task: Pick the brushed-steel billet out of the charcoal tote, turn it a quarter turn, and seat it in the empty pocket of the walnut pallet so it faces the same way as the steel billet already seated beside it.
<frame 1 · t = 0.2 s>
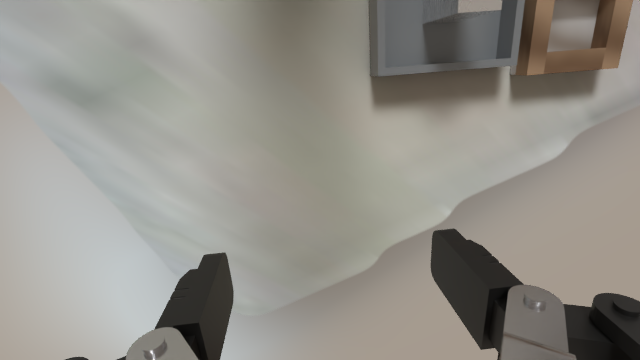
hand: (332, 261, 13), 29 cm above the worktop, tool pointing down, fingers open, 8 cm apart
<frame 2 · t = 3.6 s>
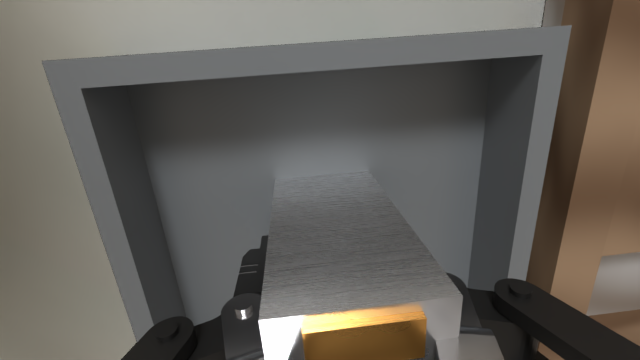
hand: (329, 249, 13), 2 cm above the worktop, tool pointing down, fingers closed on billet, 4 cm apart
pallet: (629, 155, 16), on the worktop
tote: (324, 224, 15), on the worktop
billet: (326, 232, 15), point 1 cm above the worktop, touching gripper, tote
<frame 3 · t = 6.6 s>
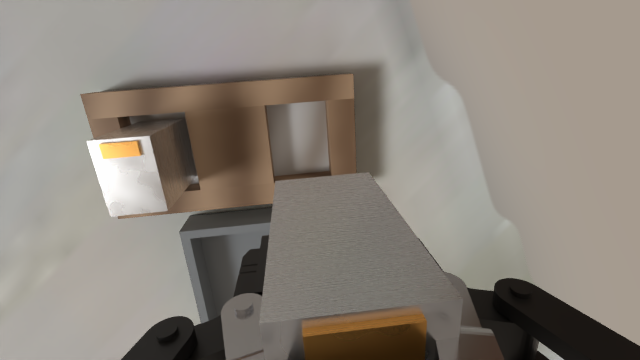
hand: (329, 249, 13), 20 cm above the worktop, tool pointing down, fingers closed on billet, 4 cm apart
pallet: (236, 141, 31), on the worktop
tote: (275, 271, 36), on the worktop
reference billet: (168, 149, 30), point 1 cm above the worktop, touching pallet
billet: (326, 233, 15), point 18 cm above the worktop, touching gripper
when the fingers open (4 cm above the worktop, at t = 9.5 s): billet drops 1 cm, resting on pallet.
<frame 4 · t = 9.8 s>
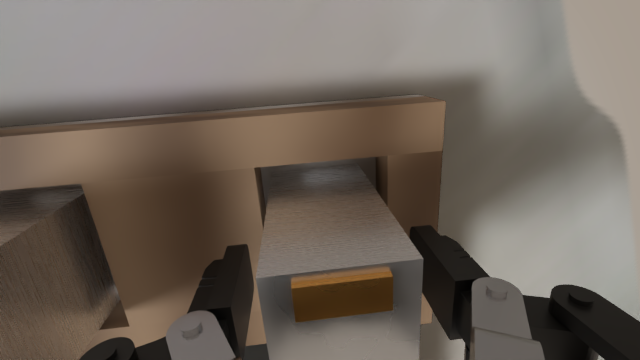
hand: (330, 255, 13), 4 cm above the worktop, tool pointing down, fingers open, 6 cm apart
pallet: (204, 220, 17), on the worktop
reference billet: (70, 243, 15), point 1 cm above the worktop, touching pallet
billet: (319, 219, 16), point 1 cm above the worktop, touching pallet
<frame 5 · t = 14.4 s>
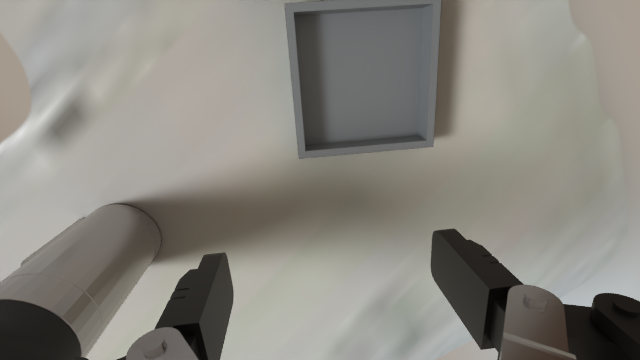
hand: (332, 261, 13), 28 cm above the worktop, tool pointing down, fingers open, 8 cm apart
tote: (359, 80, 38), on the worktop
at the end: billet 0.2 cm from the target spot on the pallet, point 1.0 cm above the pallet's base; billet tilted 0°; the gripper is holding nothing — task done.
